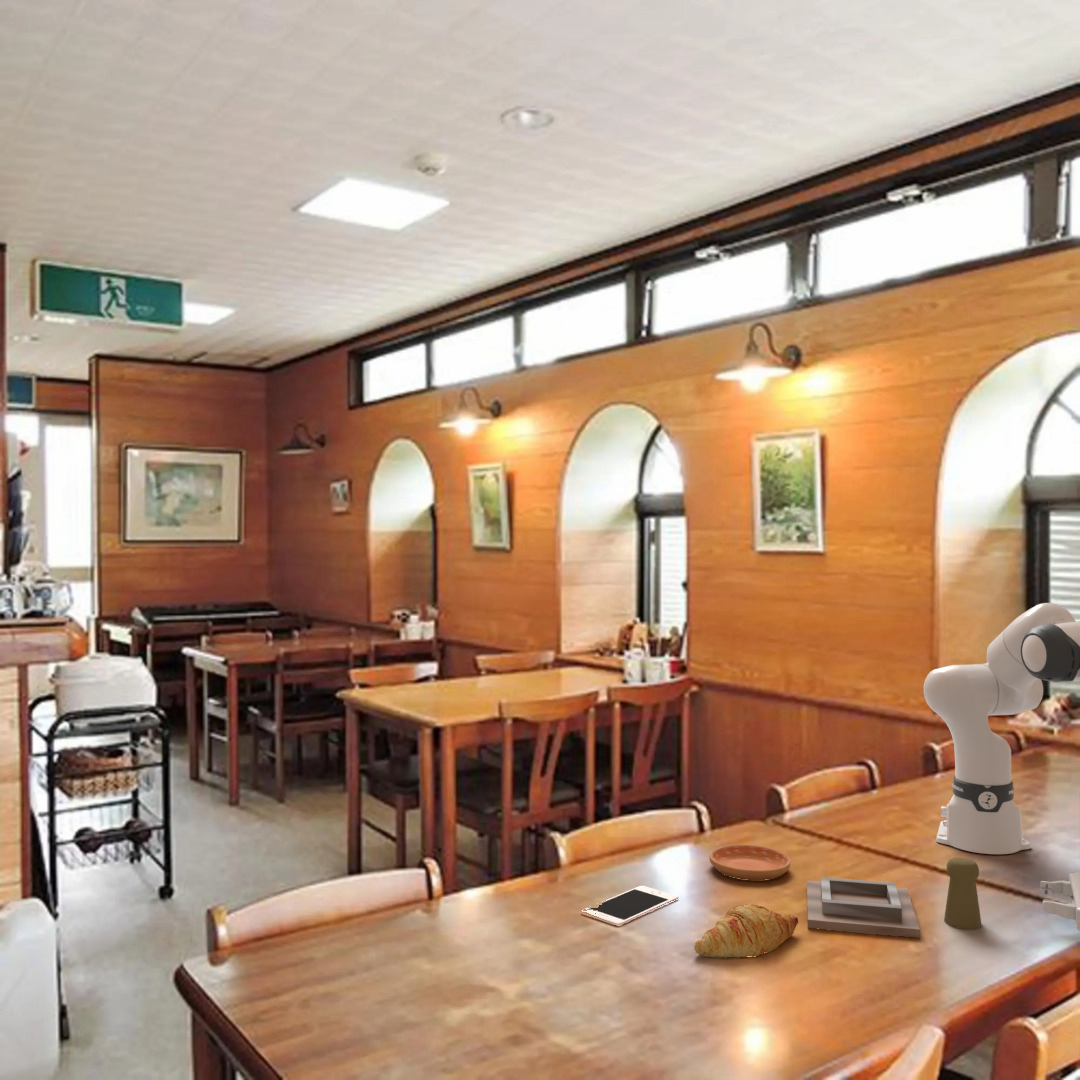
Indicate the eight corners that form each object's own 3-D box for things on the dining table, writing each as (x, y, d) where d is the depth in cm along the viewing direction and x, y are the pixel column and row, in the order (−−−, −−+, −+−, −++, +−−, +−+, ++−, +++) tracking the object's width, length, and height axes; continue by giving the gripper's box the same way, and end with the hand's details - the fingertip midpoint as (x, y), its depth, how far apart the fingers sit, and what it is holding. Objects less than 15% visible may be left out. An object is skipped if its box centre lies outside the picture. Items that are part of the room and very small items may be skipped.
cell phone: (679, 901, 187) (679, 896, 187) (618, 929, 174) (618, 923, 173) (641, 889, 193) (641, 884, 193) (579, 916, 180) (579, 910, 180)
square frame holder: (806, 888, 192) (806, 869, 192) (907, 896, 187) (907, 877, 187) (807, 928, 173) (807, 907, 172) (919, 938, 168) (919, 917, 168)
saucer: (797, 864, 206) (797, 850, 206) (781, 890, 192) (781, 874, 192) (720, 854, 213) (720, 840, 213) (699, 878, 198) (699, 863, 198)
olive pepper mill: (985, 930, 171) (985, 866, 171) (947, 928, 172) (947, 863, 172) (977, 917, 177) (977, 854, 177) (941, 914, 178) (940, 852, 178)
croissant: (707, 988, 158) (722, 952, 155) (672, 939, 166) (685, 903, 162) (806, 956, 169) (822, 922, 165) (769, 911, 176) (783, 877, 173)
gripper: (1128, 869, 173) (1038, 859, 179) (1144, 909, 155) (1044, 896, 160) (1128, 906, 173) (1038, 894, 179) (1144, 950, 155) (1044, 936, 160)
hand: (1041, 896), depth 170 cm, fingers open, 8 cm apart
